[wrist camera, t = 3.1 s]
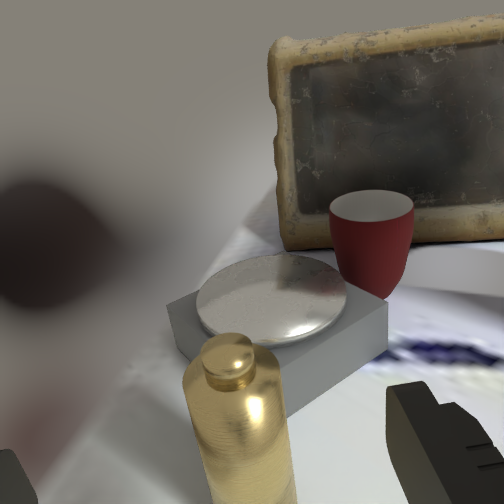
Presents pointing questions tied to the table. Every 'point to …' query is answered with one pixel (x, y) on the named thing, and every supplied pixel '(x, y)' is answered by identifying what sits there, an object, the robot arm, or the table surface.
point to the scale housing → (305, 345)
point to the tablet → (392, 127)
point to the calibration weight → (240, 421)
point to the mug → (372, 238)
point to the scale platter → (273, 300)
